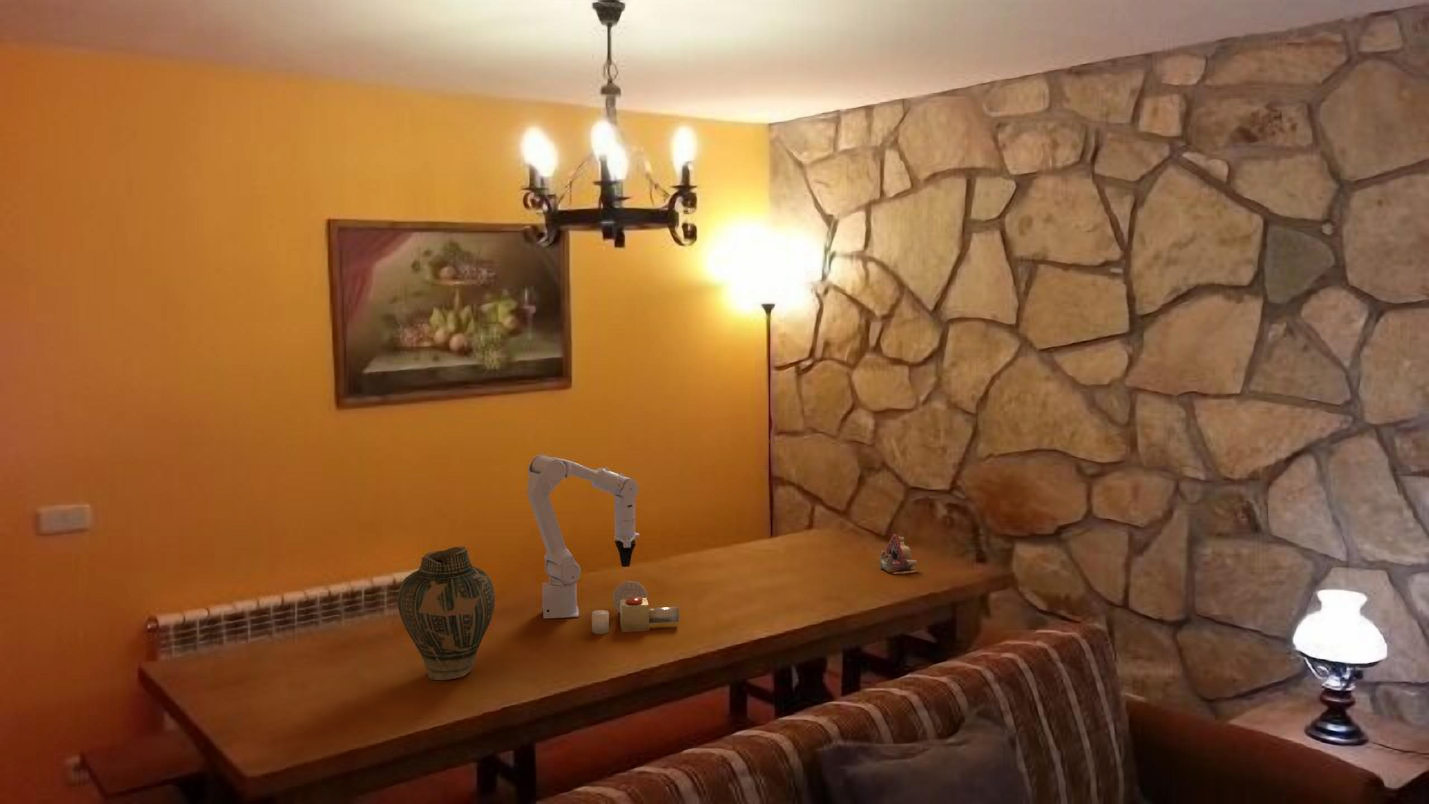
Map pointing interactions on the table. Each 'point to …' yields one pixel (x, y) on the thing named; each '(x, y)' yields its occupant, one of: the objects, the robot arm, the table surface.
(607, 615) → the pvc coupling
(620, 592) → the showerhead
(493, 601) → the vase
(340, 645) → the table surface
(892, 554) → the grey pink figurine
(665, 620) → the beige red button device
